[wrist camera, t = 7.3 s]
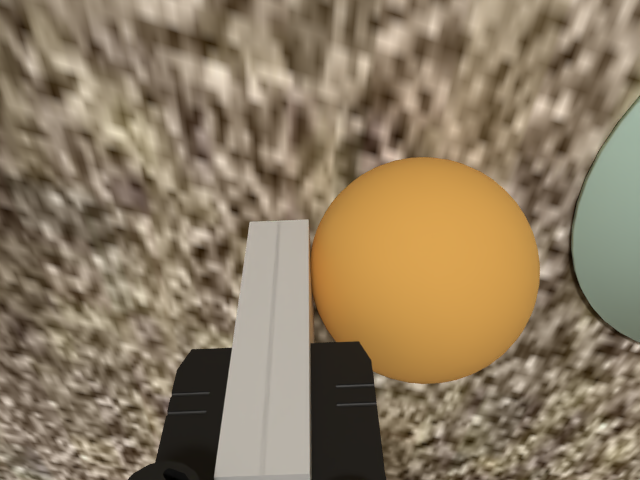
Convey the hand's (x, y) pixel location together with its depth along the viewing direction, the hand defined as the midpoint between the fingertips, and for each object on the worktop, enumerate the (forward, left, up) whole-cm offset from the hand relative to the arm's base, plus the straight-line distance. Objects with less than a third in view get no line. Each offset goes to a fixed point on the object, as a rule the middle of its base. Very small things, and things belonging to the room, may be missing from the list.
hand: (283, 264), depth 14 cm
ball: (-2, -2, 0) cm, 3 cm away
